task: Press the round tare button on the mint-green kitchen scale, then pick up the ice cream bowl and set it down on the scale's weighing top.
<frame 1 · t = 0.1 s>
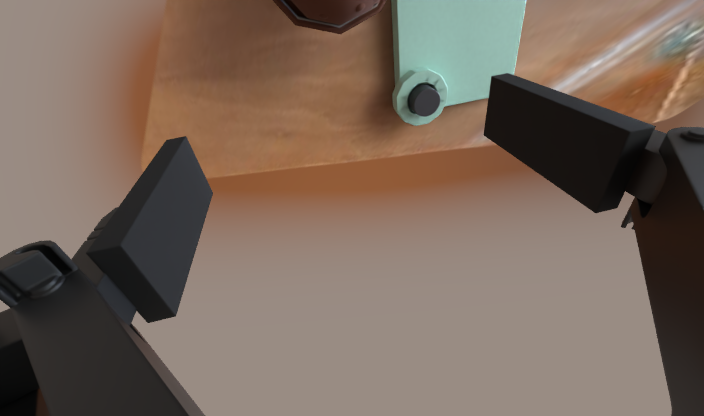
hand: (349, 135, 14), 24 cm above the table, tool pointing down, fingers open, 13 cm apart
scale: (453, 26, 34), on the table
tare button: (424, 100, 34), point 4 cm above the table, slide at 0.1 cm
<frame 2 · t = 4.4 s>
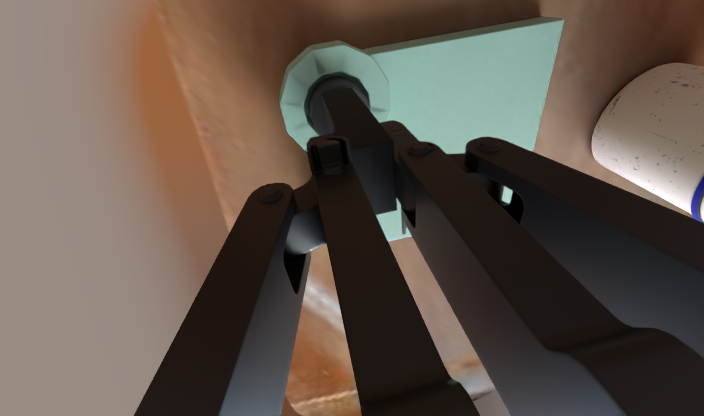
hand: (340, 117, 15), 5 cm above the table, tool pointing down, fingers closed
scale: (420, 144, 23), on the table
tare button: (338, 110, 16), point 4 cm above the table, slide at 0.0 cm, touching gripper
teacup with lid: (654, 105, 25), on the table
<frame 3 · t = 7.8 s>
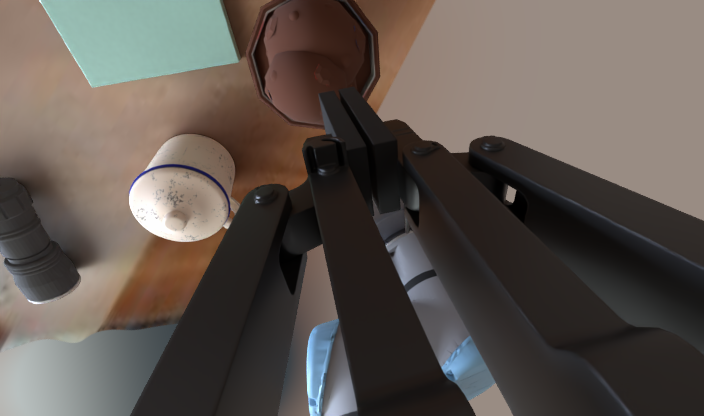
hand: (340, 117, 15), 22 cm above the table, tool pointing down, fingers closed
teacup with lid: (208, 172, 39), on the table
flashlight: (40, 229, 39), on the table
ice cream bowl: (306, 47, 33), on the table
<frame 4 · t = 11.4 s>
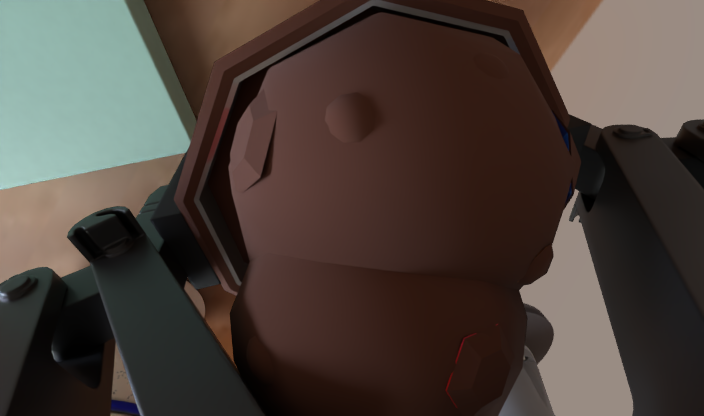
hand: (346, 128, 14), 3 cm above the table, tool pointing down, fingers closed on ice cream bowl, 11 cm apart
teacup with lid: (159, 311, 23), on the table
ice cream bowl: (335, 108, 17), on the table, touching gripper
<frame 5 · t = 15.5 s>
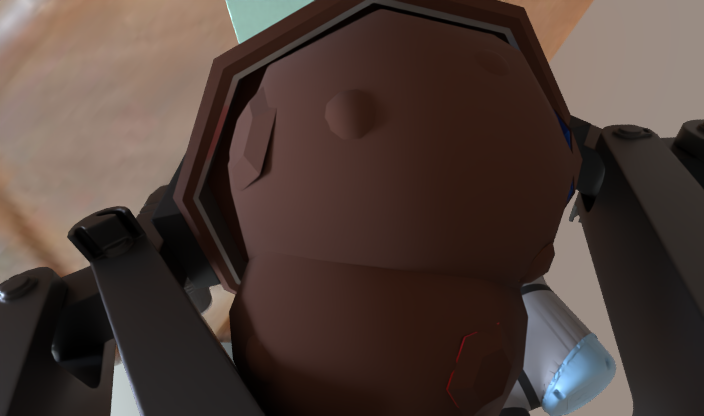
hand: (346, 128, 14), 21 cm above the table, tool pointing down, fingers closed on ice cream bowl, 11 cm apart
scale: (313, 33, 31), on the table
flashlight: (183, 252, 42), on the table
ice cream bowl: (335, 107, 17), point 18 cm above the table, touching gripper
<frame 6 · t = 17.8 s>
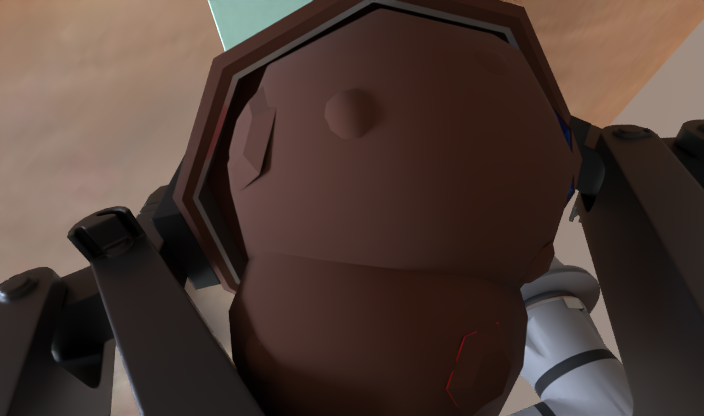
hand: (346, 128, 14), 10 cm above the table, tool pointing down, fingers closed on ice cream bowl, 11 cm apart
scale: (337, 52, 22), on the table
ice cream bowl: (335, 107, 17), point 7 cm above the table, touching gripper
when the fingers open (5 cm above the table, at t = 19.7 s): ice cream bowl stays where it is, resting on scale.
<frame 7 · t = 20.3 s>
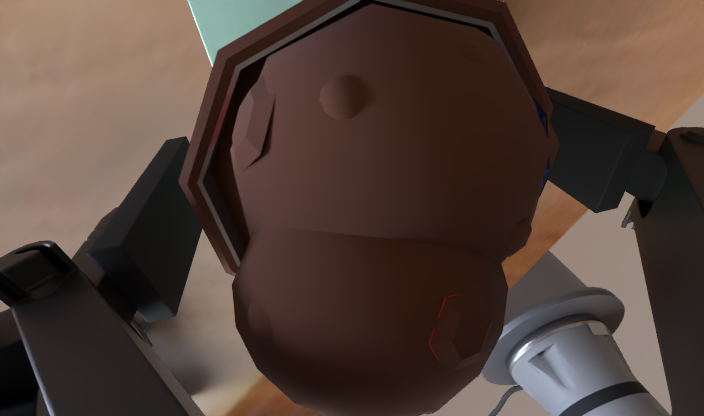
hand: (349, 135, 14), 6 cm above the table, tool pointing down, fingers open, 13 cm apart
scale: (349, 63, 18), on the table
ice cream bowl: (333, 102, 17), point 2 cm above the table, touching scale
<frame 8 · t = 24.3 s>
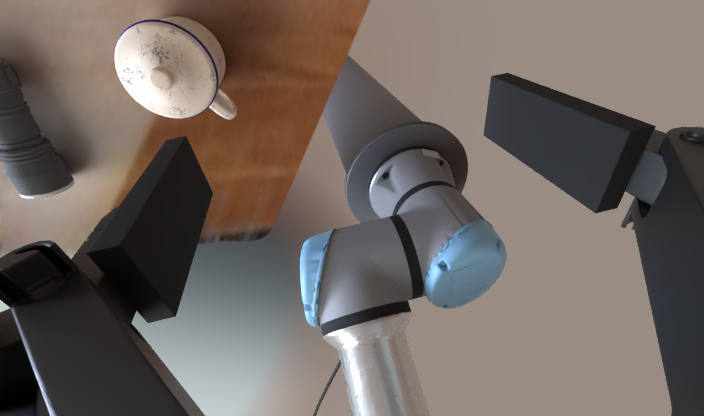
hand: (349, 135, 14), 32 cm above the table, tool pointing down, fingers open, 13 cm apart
teacup with lid: (199, 67, 39), on the table
flashlight: (31, 124, 39), on the table
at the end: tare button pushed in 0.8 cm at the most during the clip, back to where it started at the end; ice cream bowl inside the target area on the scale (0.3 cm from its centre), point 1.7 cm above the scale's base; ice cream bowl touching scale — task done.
